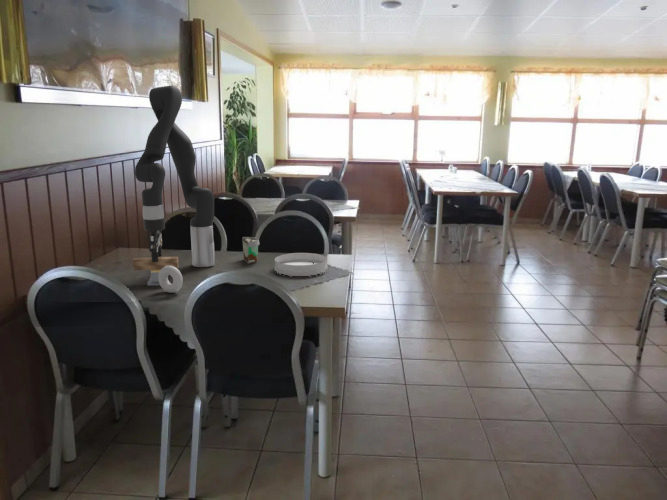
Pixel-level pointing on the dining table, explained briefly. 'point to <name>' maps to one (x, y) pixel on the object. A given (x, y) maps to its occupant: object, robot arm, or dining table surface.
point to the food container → (250, 249)
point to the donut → (165, 282)
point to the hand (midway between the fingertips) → (157, 259)
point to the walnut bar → (154, 263)
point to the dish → (300, 263)
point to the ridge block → (154, 278)
